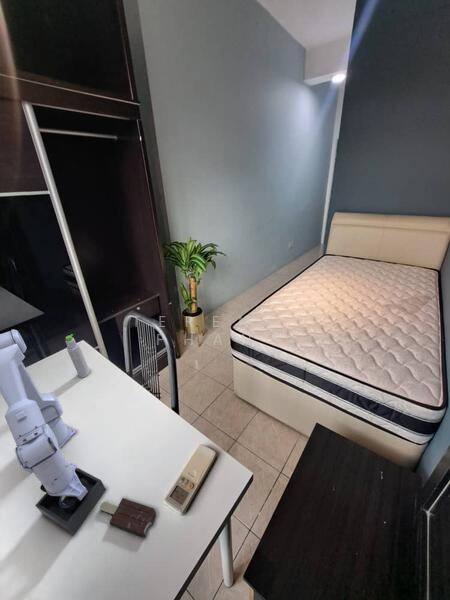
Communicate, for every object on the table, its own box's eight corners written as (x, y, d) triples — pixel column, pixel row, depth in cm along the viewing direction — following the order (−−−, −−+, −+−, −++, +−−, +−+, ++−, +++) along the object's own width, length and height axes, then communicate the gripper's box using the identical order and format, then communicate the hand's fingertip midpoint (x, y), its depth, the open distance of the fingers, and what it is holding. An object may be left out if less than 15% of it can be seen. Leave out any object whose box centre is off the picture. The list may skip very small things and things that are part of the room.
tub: (43, 514, 63) (35, 505, 61) (76, 473, 72) (70, 464, 69) (74, 535, 59) (66, 526, 57) (106, 489, 68) (100, 479, 65)
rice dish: (58, 507, 64) (53, 502, 63) (76, 484, 69) (72, 479, 67) (73, 517, 62) (69, 511, 61) (91, 493, 67) (87, 487, 65)
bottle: (91, 373, 107) (76, 336, 97) (81, 379, 104) (64, 341, 94) (87, 368, 110) (72, 332, 100) (77, 374, 107) (60, 337, 97)
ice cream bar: (94, 519, 62) (147, 538, 58) (92, 516, 61) (146, 535, 58) (108, 495, 66) (158, 511, 63) (106, 492, 66) (157, 508, 62)
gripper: (89, 464, 59) (105, 492, 65) (48, 443, 64) (67, 472, 70) (63, 497, 53) (83, 524, 60) (20, 471, 58) (43, 499, 65)
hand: (73, 498), depth 65 cm, fingers closed on rice dish, 5 cm apart
